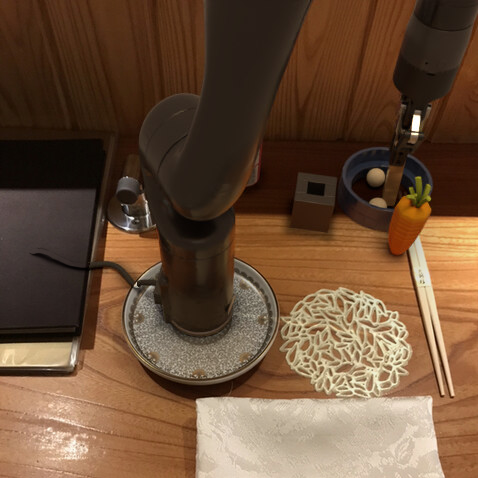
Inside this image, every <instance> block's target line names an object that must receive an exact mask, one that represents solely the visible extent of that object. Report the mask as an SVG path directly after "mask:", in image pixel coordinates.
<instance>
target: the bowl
mask: <svg viewBox="0 0 478 478" xmlns="http://www.w3.org/2000/svg"><path fill="white" fill-rule="evenodd" d="M390 155H391V153H389V147H385V146H375V147H373V146H372V147H368V148H363V149H361V150H359V151H356V152H355V153H353V154H352V155H350V156H349V157H348V158H347V159H346V161H345V162H344V165H343V167H342V169H341V173H340V177H339V181H338V187H337V190H336V198H337V202H338V206H339V208H340V209H341V211H342V212H343V213H344V214H345V215H346V216H347V217H348V218H349V219H350V220H351V221H352V222H355V223H356V224H357V225H359V226H361V227H363V228H366V229H369V230H372V231H377V232H384V233H385V232H386V233H389V226H390V222H391V219H392V216H393V213H394V210H395V208H390V207H387V208H382V207H378V206H375V205H372V204H370V203H369V202H368V201H367V200H364V199H363V198H362V197H360V196H359V195H358V194H356V192H354V191H353V189H352V186H354V184H355V183H356V182H357V181H359V180H361V179H363V178H367V174H368V172H369V171H370V170H372V169H375V168H378V169H381V170H382V171H383V172H384V174H385V178H386V175H387V171H388V166H389V158H390ZM415 177H421V181H422V194H421V197H422V195H423V192H424V189H425V186H426V184H429V185H430V186H431V189H430V192H429V194H428V196H430V197H431V194H432V191H433V189H434V188H433V187H434V185H433V181H434V180H433V178H432V175H431V173H430V171H429V169H428V168H427V167H426V166H425V164H424V163H423V162H422V161H421V160H420V159H418V158H417V157H415V156H414V155H413V154H409V153H408V155H407V158H406V162H405V166H404V170H403V174H402V177H401V181H400V185H402V187H404V188H405V189H406V190H407V192H408V193H409V195H411V193H410V190H409V187H413V188H414V192H415V194H416V184H415Z"/></svg>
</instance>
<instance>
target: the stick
mask: <svg viewBox="0 0 478 478" xmlns="http://www.w3.org/2000/svg"><path fill="white" fill-rule="evenodd" d="M396 135H397V134H396ZM396 135H395V138H396ZM394 140H395V139H394ZM393 146H394V144H393ZM392 149H393V148H392ZM405 162H406V161H405ZM404 166H405V164H404ZM404 166H402V167H398V166H391V165H389V166H388V171H387V175H386V177H385V180H384V183H383V189H382V194H381V199H383V200H384V201H385V202H386V204H387V207H388V206H389V207H395V206H396V205H395V204H396V201H397V197H398V193H399V190H400V186H401V184H400V181H401V177H402V174H403V170H404Z"/></svg>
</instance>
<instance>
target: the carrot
mask: <svg viewBox="0 0 478 478" xmlns="http://www.w3.org/2000/svg"><path fill="white" fill-rule="evenodd" d="M415 184H416V194H415V192H414V188H413V187H409V190H410V193H411V195H410V193H409V194H406V195H404V196H402V197H401V198H400V200H399V201H398V203H397V204H396V205H395V206H394V209H395V210H394V213H393V216H392V219H391V222H390V226H389V232H388V236H387V237H388V238H387V241H388V246H389V250H390V252H391V254H392V255H395V256H399V255H402V254H404V253H405V252H406V251H408V250H409V249H410V248H411V247H412V245H413V244H414V243H415V241H416V240H417V239H418V237H419V236H420V235H421V232H422V231H423V229H424V227H425V226H426V224H427V222H428V221H429V218H430V216H431V214H432V207H431V206H430V204H429V202H430V201H431V200H432V198H431V195H430V196H428V194H429V192H430V189H431V186H430V185H429V184H426V186H425V189H424V192H423V195H422V197H421V194H422V181H421V177H415Z"/></svg>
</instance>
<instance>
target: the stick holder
mask: <svg viewBox="0 0 478 478" xmlns="http://www.w3.org/2000/svg"><path fill="white" fill-rule="evenodd" d="M337 183H338V177H336V176H329V175H323V174H316V173H306V172H300V171H298V173H297V179H296V183H295V191H294V197H293V202H292V203H293V205H292V209H291V217H290V224H289V228H291V229H298V230H306V231H313V232H319V233H326V234H327V233H329V229H330V226H331V221H332V217H333V215H334V210H335V204H336V196H337Z"/></svg>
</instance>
